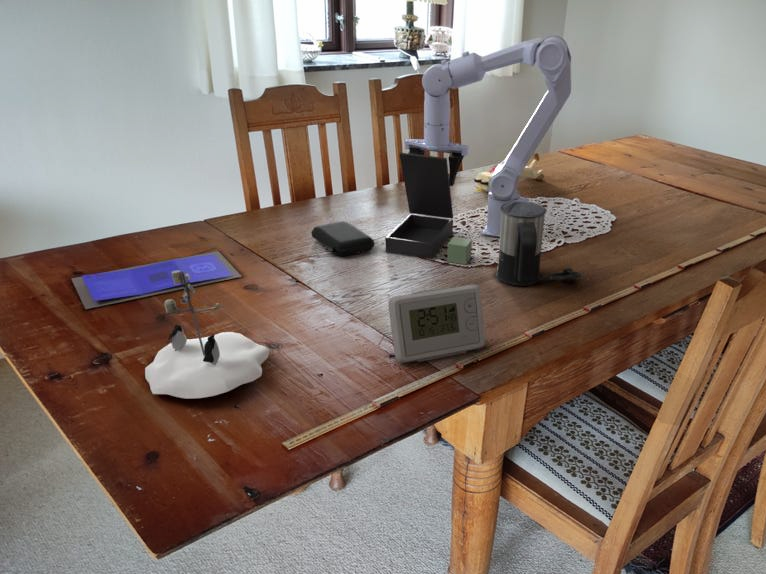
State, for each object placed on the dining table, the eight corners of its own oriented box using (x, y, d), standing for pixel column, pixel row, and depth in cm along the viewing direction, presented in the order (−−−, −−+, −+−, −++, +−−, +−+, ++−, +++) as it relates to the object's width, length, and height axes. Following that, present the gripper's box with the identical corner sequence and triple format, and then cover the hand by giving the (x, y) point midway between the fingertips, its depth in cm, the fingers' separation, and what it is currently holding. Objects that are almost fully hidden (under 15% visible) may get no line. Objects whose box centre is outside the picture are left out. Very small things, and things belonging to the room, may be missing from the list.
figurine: (290, 377, 105) (272, 277, 97) (164, 416, 95) (135, 308, 88) (246, 333, 119) (228, 243, 112) (134, 364, 110) (106, 267, 103)
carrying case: (304, 238, 155) (334, 261, 145) (302, 225, 153) (333, 247, 143) (346, 229, 160) (378, 251, 151) (345, 217, 159) (378, 238, 149)
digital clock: (392, 367, 110) (391, 309, 105) (386, 340, 118) (384, 283, 112) (490, 359, 114) (494, 302, 108) (478, 333, 121) (481, 278, 116)
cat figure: (523, 177, 206) (463, 186, 190) (527, 148, 202) (466, 154, 186) (548, 186, 201) (489, 195, 184) (552, 155, 196) (492, 162, 180)
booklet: (233, 275, 136) (232, 272, 136) (94, 304, 124) (93, 301, 123) (213, 254, 145) (213, 251, 144) (82, 278, 132) (81, 275, 132)
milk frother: (488, 270, 144) (492, 202, 137) (554, 261, 150) (561, 195, 142) (518, 300, 134) (524, 227, 126) (587, 289, 139) (597, 219, 131)
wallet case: (431, 258, 148) (431, 244, 147) (385, 252, 150) (385, 237, 149) (452, 233, 162) (452, 219, 160) (410, 227, 164) (409, 213, 162)
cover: (446, 159, 146) (452, 145, 149) (399, 153, 148) (405, 140, 151) (452, 218, 160) (458, 205, 163) (409, 213, 162) (415, 199, 165)
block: (471, 257, 150) (471, 239, 148) (466, 264, 147) (466, 246, 145) (452, 254, 151) (453, 236, 149) (447, 261, 148) (447, 243, 145)
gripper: (400, 123, 151) (400, 184, 158) (463, 130, 149) (461, 191, 156) (410, 116, 157) (410, 175, 164) (471, 123, 154) (469, 182, 162)
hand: (436, 183), depth 160 cm, fingers open, 7 cm apart
